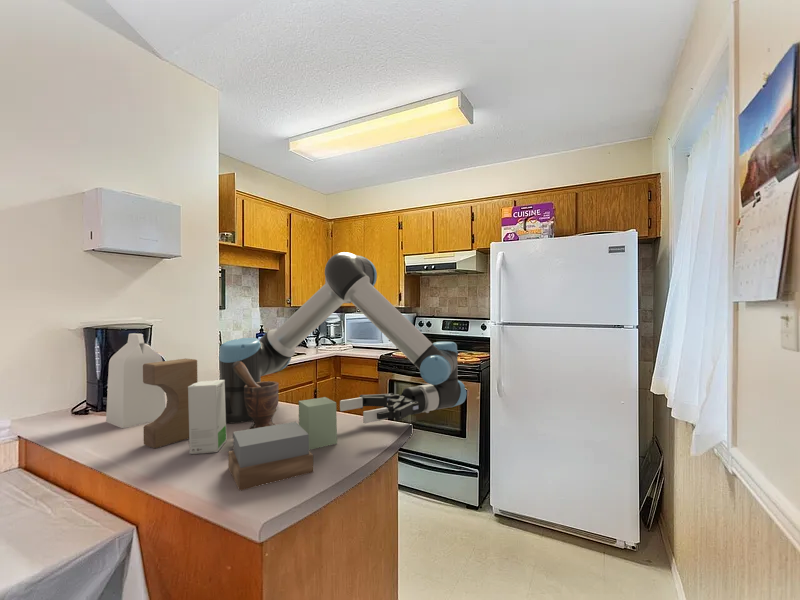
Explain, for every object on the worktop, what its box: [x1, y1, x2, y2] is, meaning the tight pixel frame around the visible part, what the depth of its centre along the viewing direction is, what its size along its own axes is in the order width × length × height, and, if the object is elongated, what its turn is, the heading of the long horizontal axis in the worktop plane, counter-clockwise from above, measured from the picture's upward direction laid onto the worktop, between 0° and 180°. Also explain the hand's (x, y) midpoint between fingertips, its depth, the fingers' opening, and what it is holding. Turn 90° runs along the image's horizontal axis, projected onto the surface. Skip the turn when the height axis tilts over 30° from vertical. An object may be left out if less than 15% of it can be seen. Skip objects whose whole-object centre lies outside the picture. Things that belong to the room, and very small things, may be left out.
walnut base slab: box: [227, 449, 314, 491], centre depth 81 cm, size 12×14×4 cm
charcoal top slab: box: [232, 421, 310, 468], centre depth 81 cm, size 10×13×4 cm
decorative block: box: [142, 358, 199, 449], centre depth 101 cm, size 11×6×20 cm, turn 145°
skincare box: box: [188, 379, 227, 455], centre depth 95 cm, size 8×7×16 cm
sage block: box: [298, 396, 338, 451], centre depth 97 cm, size 7×7×10 cm
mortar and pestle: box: [232, 361, 279, 429], centre depth 103 cm, size 12×9×20 cm
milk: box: [105, 333, 166, 429], centre depth 120 cm, size 12×12×26 cm
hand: (351, 411), depth 102 cm, fingers open, 13 cm apart
